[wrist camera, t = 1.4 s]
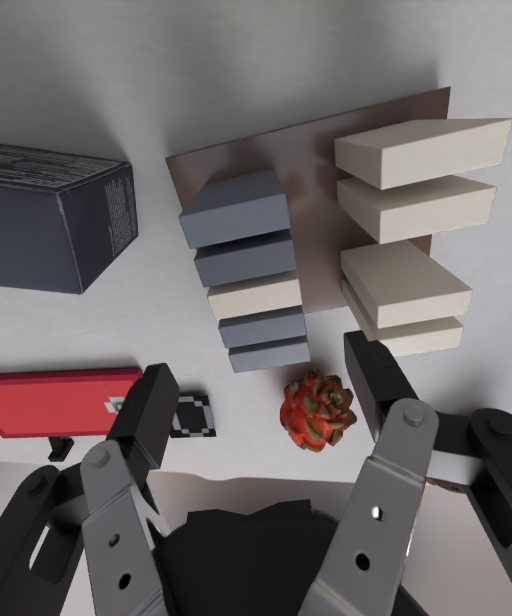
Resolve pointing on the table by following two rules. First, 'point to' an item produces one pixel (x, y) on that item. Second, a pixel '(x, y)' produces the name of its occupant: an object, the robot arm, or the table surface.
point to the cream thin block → (255, 295)
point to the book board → (308, 184)
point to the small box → (62, 218)
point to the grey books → (248, 263)
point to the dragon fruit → (317, 411)
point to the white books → (413, 224)
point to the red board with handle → (82, 407)
